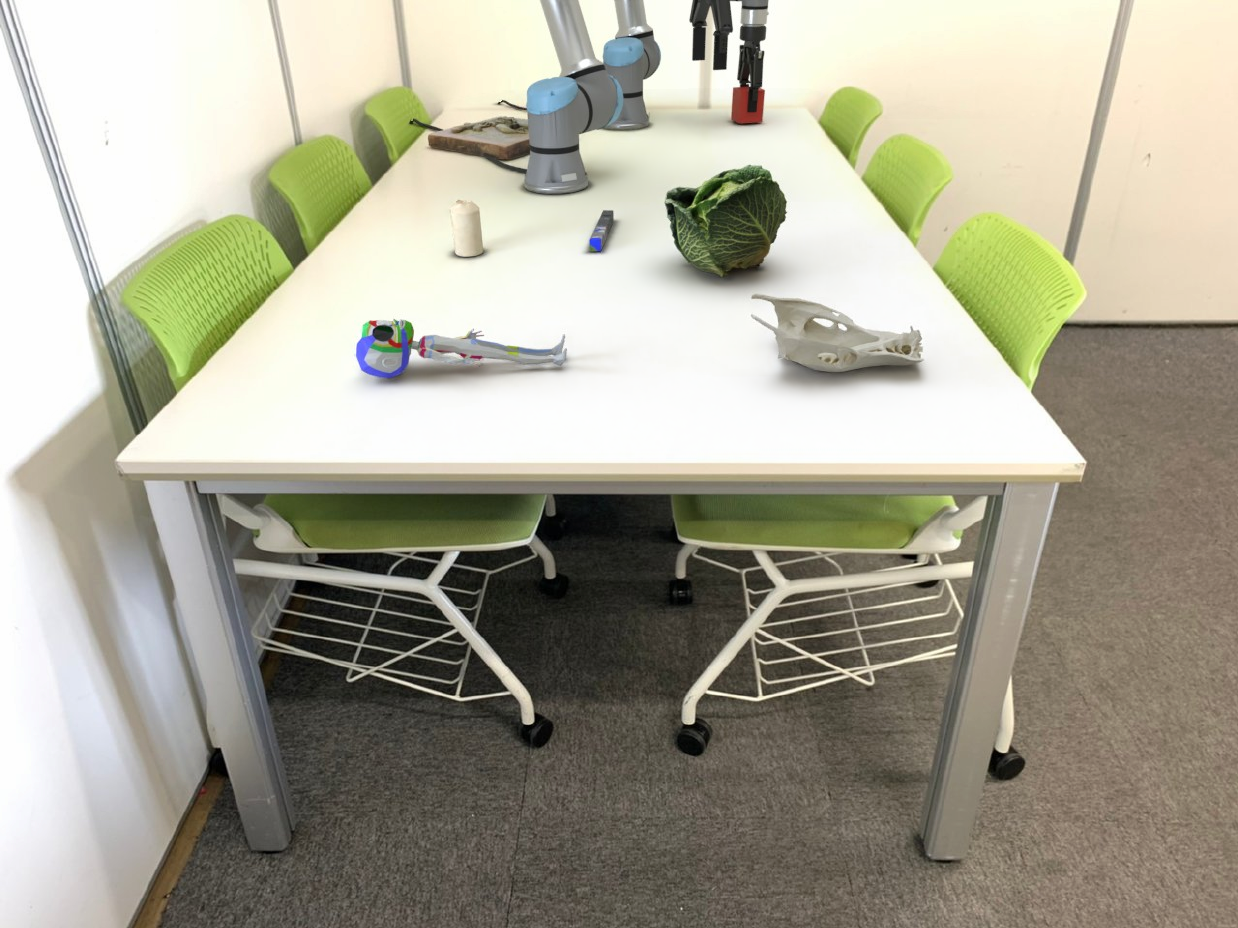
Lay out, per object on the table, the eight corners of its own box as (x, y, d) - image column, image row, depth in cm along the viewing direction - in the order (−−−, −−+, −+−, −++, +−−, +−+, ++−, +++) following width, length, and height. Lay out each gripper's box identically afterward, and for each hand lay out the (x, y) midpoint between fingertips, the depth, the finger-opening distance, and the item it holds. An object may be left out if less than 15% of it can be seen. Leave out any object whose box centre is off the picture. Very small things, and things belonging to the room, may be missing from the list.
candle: (488, 249, 176) (483, 198, 171) (475, 258, 172) (470, 206, 167) (463, 246, 178) (457, 196, 173) (450, 255, 174) (443, 204, 168)
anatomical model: (752, 284, 135) (923, 286, 131) (750, 340, 140) (914, 344, 136) (749, 325, 123) (938, 328, 119) (747, 384, 127) (928, 390, 124)
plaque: (505, 133, 232) (424, 120, 247) (507, 161, 236) (427, 146, 250) (578, 114, 253) (499, 103, 268) (578, 140, 256) (500, 128, 271)
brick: (738, 123, 268) (740, 91, 264) (731, 119, 274) (733, 87, 269) (762, 122, 270) (765, 90, 265) (754, 117, 275) (756, 86, 270)
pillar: (613, 210, 190) (600, 241, 173) (613, 220, 191) (600, 251, 174) (603, 210, 190) (589, 240, 173) (603, 220, 191) (589, 251, 174)
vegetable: (694, 294, 173) (643, 202, 166) (775, 239, 175) (728, 145, 167) (734, 307, 155) (678, 205, 147) (824, 245, 156) (773, 141, 149)
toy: (569, 347, 126) (349, 329, 122) (563, 400, 131) (350, 385, 126) (565, 318, 135) (359, 301, 130) (559, 369, 139) (360, 354, 134)
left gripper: (753, -47, 171) (746, 73, 182) (709, -53, 191) (706, 55, 203) (716, -46, 169) (711, 75, 181) (676, -52, 190) (674, 57, 201)
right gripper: (779, 29, 251) (771, 115, 263) (753, 20, 267) (747, 102, 279) (753, 30, 249) (747, 117, 261) (729, 21, 265) (724, 104, 277)
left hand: (708, 65), depth 192 cm, fingers open, 13 cm apart
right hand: (747, 109), depth 270 cm, fingers closed on brick, 7 cm apart
